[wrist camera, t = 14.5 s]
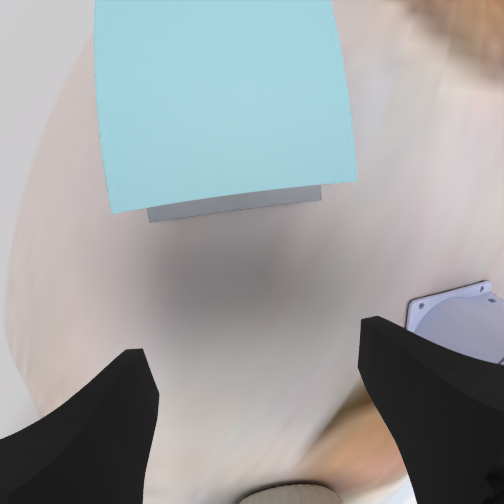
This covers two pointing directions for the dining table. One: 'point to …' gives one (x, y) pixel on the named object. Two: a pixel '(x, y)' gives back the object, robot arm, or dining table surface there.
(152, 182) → the pale teal cube
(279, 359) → the dining table surface
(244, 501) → the canister
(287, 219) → the dining table surface
